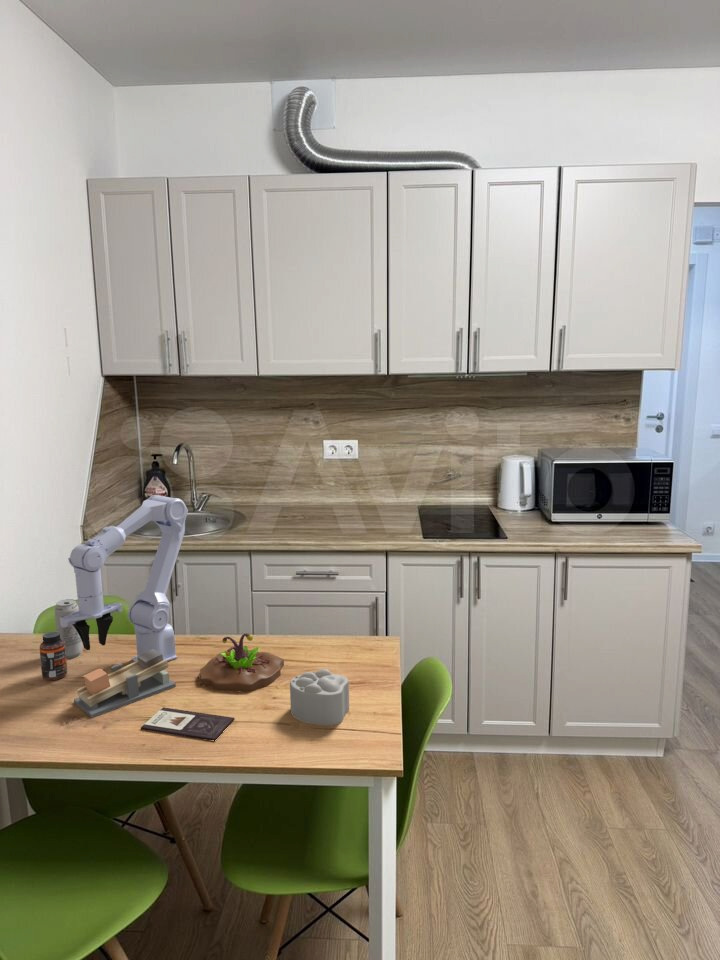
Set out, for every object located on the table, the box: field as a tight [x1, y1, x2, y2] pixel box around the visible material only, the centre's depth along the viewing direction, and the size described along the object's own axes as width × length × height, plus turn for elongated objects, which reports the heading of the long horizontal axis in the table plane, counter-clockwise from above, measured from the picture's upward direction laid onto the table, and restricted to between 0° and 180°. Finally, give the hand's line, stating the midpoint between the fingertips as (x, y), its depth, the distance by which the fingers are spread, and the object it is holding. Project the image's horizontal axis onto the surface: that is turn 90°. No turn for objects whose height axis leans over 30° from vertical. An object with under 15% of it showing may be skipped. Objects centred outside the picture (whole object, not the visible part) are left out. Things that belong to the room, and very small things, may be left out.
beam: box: [76, 649, 169, 707], centre depth 169 cm, size 20×6×5 cm, turn 134°
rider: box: [83, 668, 110, 695], centre depth 165 cm, size 4×4×4 cm
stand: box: [73, 663, 177, 719], centre depth 170 cm, size 21×10×6 cm, turn 133°
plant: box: [198, 633, 285, 693], centre depth 179 cm, size 20×20×11 cm
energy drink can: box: [54, 598, 84, 660], centre depth 191 cm, size 6×6×15 cm
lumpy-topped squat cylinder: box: [289, 668, 350, 726], centre depth 160 cm, size 10×13×9 cm
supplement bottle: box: [39, 631, 68, 681], centre depth 179 cm, size 6×6×11 cm
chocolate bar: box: [140, 707, 235, 742], centre depth 156 cm, size 9×1×18 cm
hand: (94, 646), depth 174 cm, fingers open, 3 cm apart
